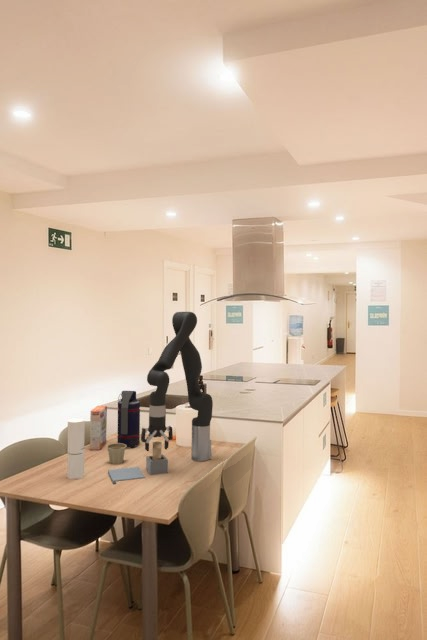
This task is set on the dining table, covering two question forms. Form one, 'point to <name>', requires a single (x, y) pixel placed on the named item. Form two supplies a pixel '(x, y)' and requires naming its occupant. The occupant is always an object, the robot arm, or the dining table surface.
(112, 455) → the flower pot
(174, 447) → the dining table surface
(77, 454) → the cylindrical container
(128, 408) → the grenade
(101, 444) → the cracker box
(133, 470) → the board
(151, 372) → the robot arm
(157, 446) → the dowel
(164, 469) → the grey open box
